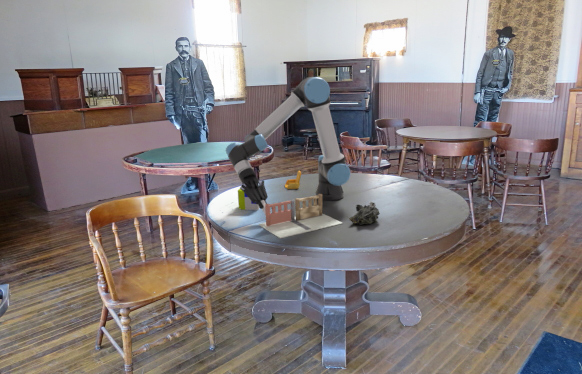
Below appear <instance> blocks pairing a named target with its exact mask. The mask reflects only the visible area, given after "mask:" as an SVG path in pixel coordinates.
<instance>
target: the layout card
mask: <svg viewBox="0 0 582 374" xmlns="http://www.w3.org/2000/svg"><path fill="white" fill-rule="evenodd" d="M343 224H344V223H343V222H342V221H340V220H337V219H335V218H333V217H331V216H329V215H327V214H325V213H322V215H319V216H315V217H310V218H305V219H301V220H296V215H295V220H291V221H287V222H283V223H278V224H274V225H270V226H266V222H261V223H259V224H258V226H260V227H261V228H262V229H265V231H267V232H269V233H270V234H272V235H274V236H275V237H277V238H278V239H283V238H287V237H292V236H297V235H301V234H305V233H309V232H313V231H317V230H321V229H326V228H330V227H335V226H339V225H343Z"/></svg>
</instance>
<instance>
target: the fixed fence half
mask: <svg viewBox="0 0 582 374" xmlns="http://www.w3.org/2000/svg"><path fill="white" fill-rule="evenodd" d="M307 201H308V206H307ZM312 201H313V203H312ZM300 202H302V207H301V208H300V205H301V204H300ZM294 213H295V216H296V220H301V219H305V218H310V217H315V216H319V215H322V214H323V200H322V194H318V195H316V194H315V195H312V196H311V195H310V196H306V197H302V198H301V197H300V198H294Z"/></svg>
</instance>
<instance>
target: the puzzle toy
mask: <svg viewBox="0 0 582 374" xmlns="http://www.w3.org/2000/svg"><path fill="white" fill-rule="evenodd" d="M259 188H260V186H259ZM260 190H261V189H260ZM237 199H238V210H240V211H241V210H245V211H250V210H251V211H259V210H260V209H259V208H260V207H259V205H258V204H256V203H253V202H252V201H251V200H250V199H249V197H248V196H247V195H246V194H245V193H244V191H242V190H241V189H240V188H239V189H238V190H237Z"/></svg>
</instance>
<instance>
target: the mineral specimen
mask: <svg viewBox="0 0 582 374" xmlns="http://www.w3.org/2000/svg"><path fill="white" fill-rule="evenodd" d="M368 204H369V205H367V204H365V205H364V206H363V205H361V204H356V205H355V209H356V212H357V213H355V214H354V215H353V216H351V217H349V221H350V222H351V223H352V224H354V225H359V226H361V225H371V224H372V223H374V224H377V223H378V220H379V215H380V211H379V209H378V208H377V206H376V203H375V202H372V201H370V202H369V203H368Z"/></svg>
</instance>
